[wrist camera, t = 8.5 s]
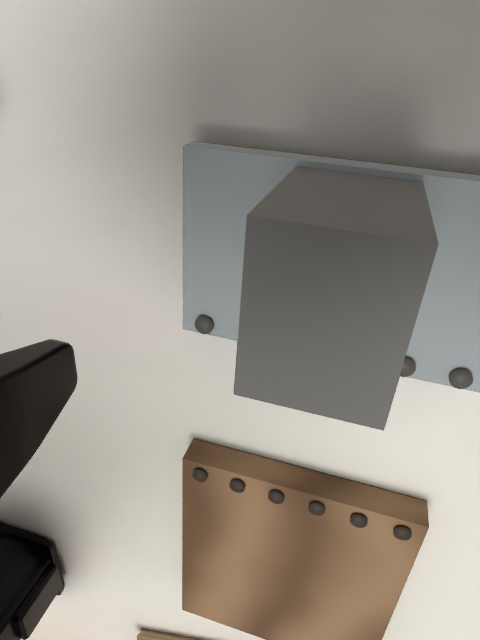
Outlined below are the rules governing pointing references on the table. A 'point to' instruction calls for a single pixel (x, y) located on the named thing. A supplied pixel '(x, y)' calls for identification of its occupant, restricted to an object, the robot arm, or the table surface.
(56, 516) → the table surface
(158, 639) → the hardcover book
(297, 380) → the stub
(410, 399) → the table surface
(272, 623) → the board
